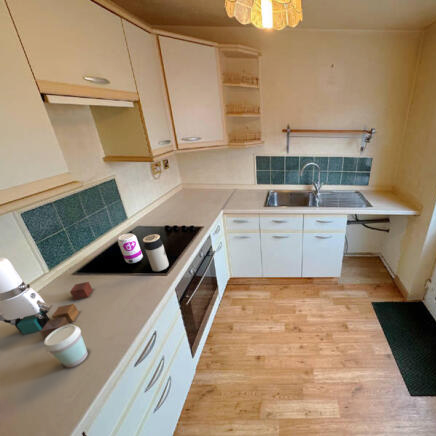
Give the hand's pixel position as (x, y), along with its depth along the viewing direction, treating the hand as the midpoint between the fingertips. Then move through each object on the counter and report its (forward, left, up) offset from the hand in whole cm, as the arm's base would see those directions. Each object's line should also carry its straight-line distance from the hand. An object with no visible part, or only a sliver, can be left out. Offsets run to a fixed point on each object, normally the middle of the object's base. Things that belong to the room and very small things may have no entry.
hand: (35, 326), depth 88 cm
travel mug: (+40, +25, -1) cm, 47 cm away
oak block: (+10, +1, -1) cm, 10 cm away
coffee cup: (+21, -21, -1) cm, 30 cm away
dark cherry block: (+10, +15, -1) cm, 18 cm away
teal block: (0, 0, -1) cm, 1 cm away
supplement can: (+25, +38, -1) cm, 45 cm away
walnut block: (+10, -6, -1) cm, 12 cm away
